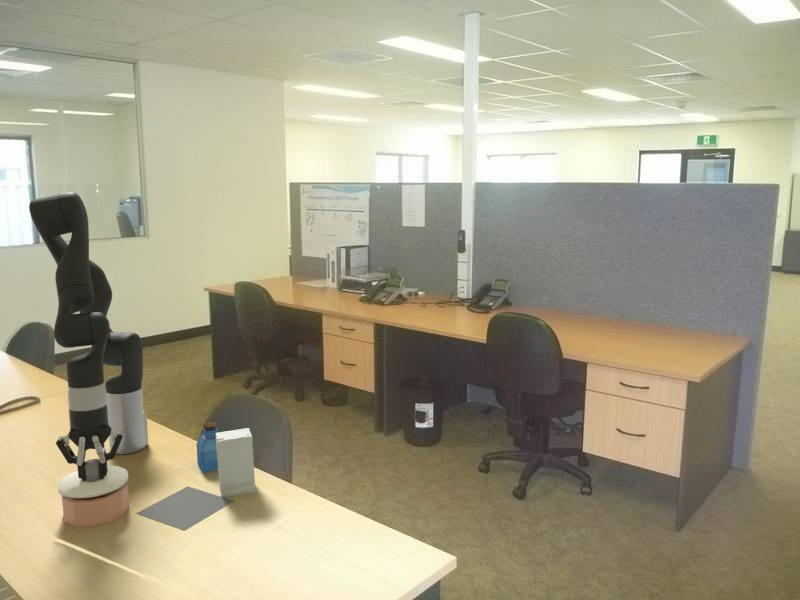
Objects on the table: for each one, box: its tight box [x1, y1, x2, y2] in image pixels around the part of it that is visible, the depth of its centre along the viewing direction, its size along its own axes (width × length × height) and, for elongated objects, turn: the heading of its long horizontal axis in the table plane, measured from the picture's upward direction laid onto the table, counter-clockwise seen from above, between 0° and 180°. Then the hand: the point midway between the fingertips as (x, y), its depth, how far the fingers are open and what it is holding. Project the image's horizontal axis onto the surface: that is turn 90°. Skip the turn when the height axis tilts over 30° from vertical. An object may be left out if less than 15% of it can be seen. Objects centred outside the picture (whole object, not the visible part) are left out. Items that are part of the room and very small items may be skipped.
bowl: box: [61, 481, 130, 527], centre depth 139 cm, size 13×13×6 cm
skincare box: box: [216, 427, 256, 498], centre depth 149 cm, size 8×6×15 cm
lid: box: [57, 458, 129, 498], centre depth 138 cm, size 14×14×6 cm
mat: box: [135, 485, 235, 532], centre depth 142 cm, size 15×15×1 cm
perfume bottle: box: [196, 421, 218, 474], centre depth 163 cm, size 6×6×12 cm
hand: (93, 478), depth 138 cm, fingers closed on lid, 3 cm apart
